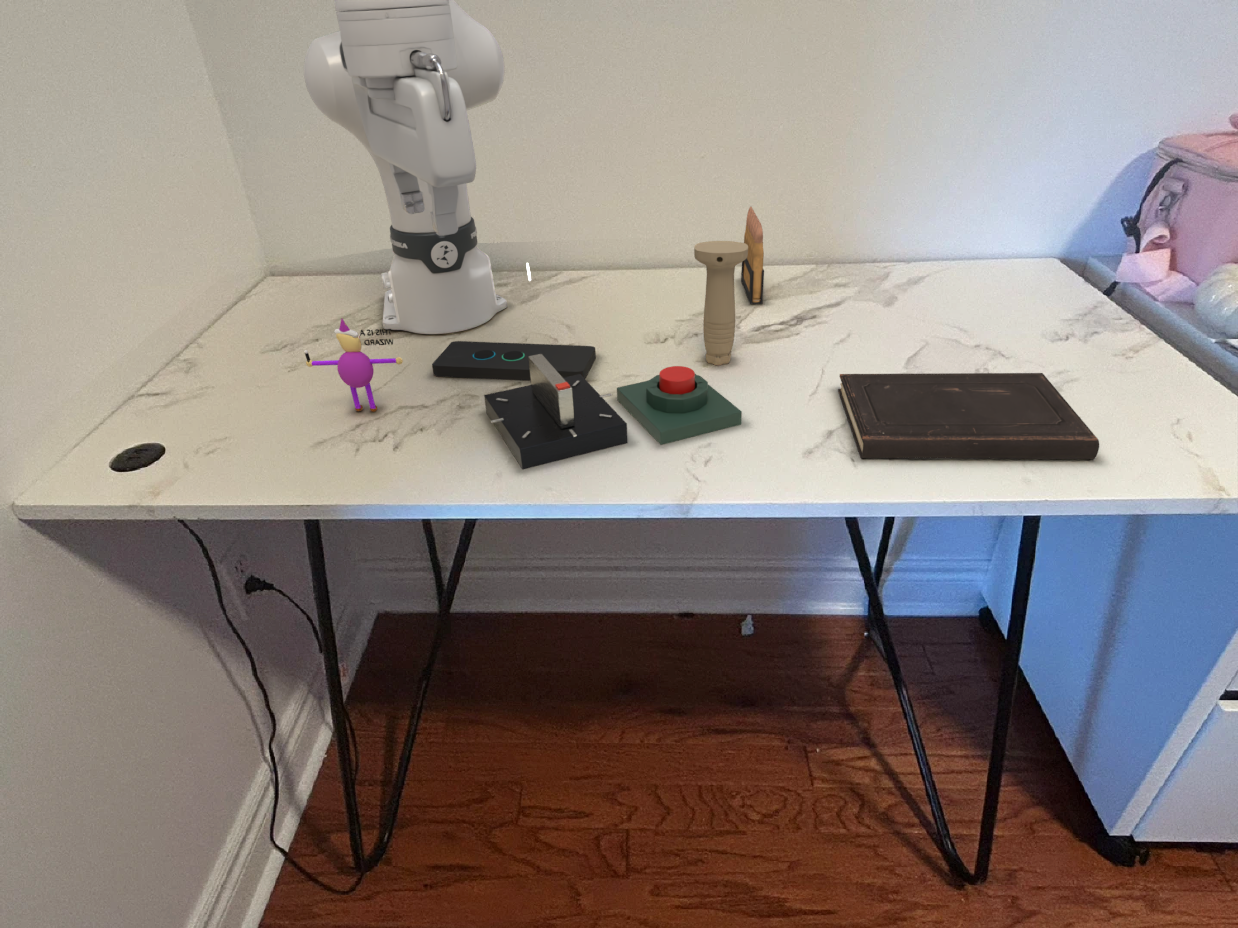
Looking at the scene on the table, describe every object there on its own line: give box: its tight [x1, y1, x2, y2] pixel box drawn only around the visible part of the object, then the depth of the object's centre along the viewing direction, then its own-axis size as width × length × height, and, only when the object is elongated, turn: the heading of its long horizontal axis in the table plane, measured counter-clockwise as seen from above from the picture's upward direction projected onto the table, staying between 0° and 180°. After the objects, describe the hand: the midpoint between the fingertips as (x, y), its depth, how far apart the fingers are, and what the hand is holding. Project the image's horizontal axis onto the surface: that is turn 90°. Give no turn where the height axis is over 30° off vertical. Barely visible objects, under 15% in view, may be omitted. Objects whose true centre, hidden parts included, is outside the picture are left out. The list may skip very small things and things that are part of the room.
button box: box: [616, 373, 743, 446], centre depth 94 cm, size 12×10×4 cm
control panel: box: [483, 374, 628, 470], centre depth 93 cm, size 14×14×3 cm
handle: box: [693, 240, 748, 367], centre depth 103 cm, size 5×6×15 cm
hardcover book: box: [837, 372, 1100, 460], centre depth 90 cm, size 16×23×2 cm
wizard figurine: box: [303, 317, 404, 413], centre depth 95 cm, size 11×3×12 cm, turn 89°
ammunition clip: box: [740, 206, 765, 305], centre depth 125 cm, size 11×2×12 cm, turn 0°
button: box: [658, 365, 696, 394], centre depth 93 cm, size 4×4×2 cm
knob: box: [528, 354, 575, 429], centre depth 91 cm, size 10×2×5 cm, turn 23°
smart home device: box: [431, 340, 597, 382], centre depth 107 cm, size 8×2×20 cm
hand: (429, 221), depth 74 cm, fingers open, 8 cm apart
